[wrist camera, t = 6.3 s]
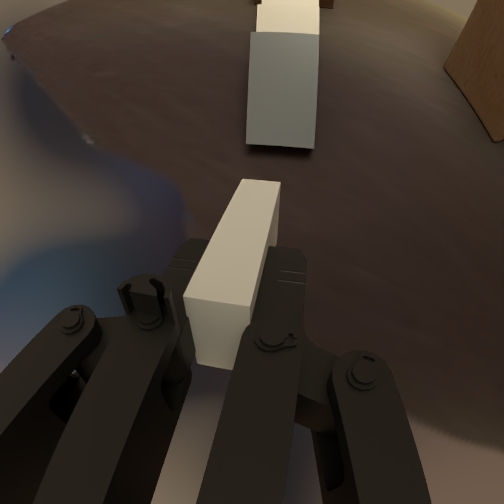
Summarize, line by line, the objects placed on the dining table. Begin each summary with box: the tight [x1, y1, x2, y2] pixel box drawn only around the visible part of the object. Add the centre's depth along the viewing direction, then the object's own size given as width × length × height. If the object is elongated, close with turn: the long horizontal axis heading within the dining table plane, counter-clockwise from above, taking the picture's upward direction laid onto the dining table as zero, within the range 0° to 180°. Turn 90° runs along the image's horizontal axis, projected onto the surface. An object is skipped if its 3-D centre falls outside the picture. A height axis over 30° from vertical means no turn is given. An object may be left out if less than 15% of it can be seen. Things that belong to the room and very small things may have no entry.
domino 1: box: [246, 32, 319, 149], centre depth 20 cm, size 2×5×9 cm
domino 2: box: [256, 4, 319, 35], centre depth 21 cm, size 2×5×9 cm
